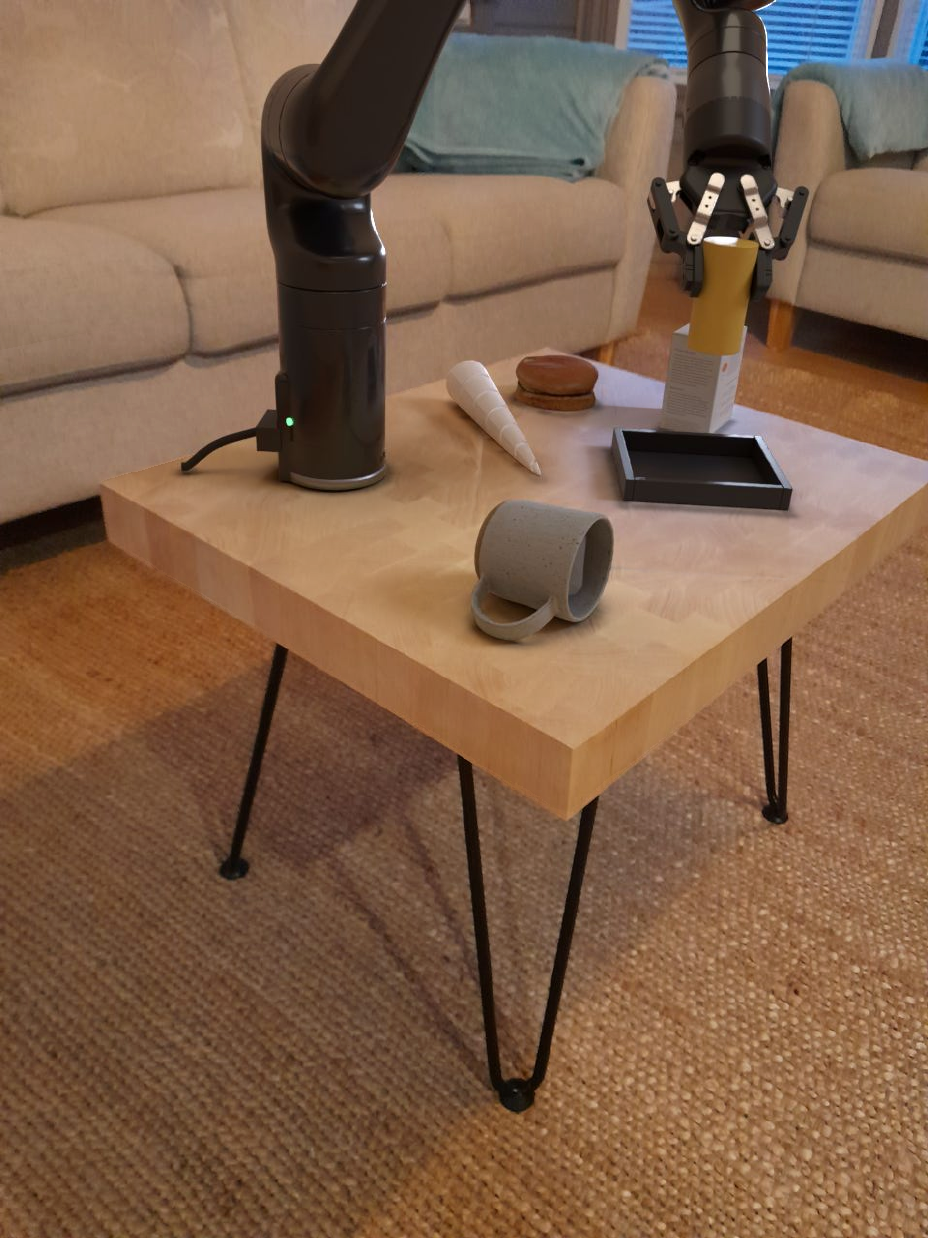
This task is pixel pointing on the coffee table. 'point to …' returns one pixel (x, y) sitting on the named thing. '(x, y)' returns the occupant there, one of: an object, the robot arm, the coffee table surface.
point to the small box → (698, 387)
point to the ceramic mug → (541, 563)
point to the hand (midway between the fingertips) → (727, 293)
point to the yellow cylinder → (722, 295)
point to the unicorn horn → (488, 409)
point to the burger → (556, 382)
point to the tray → (698, 469)
